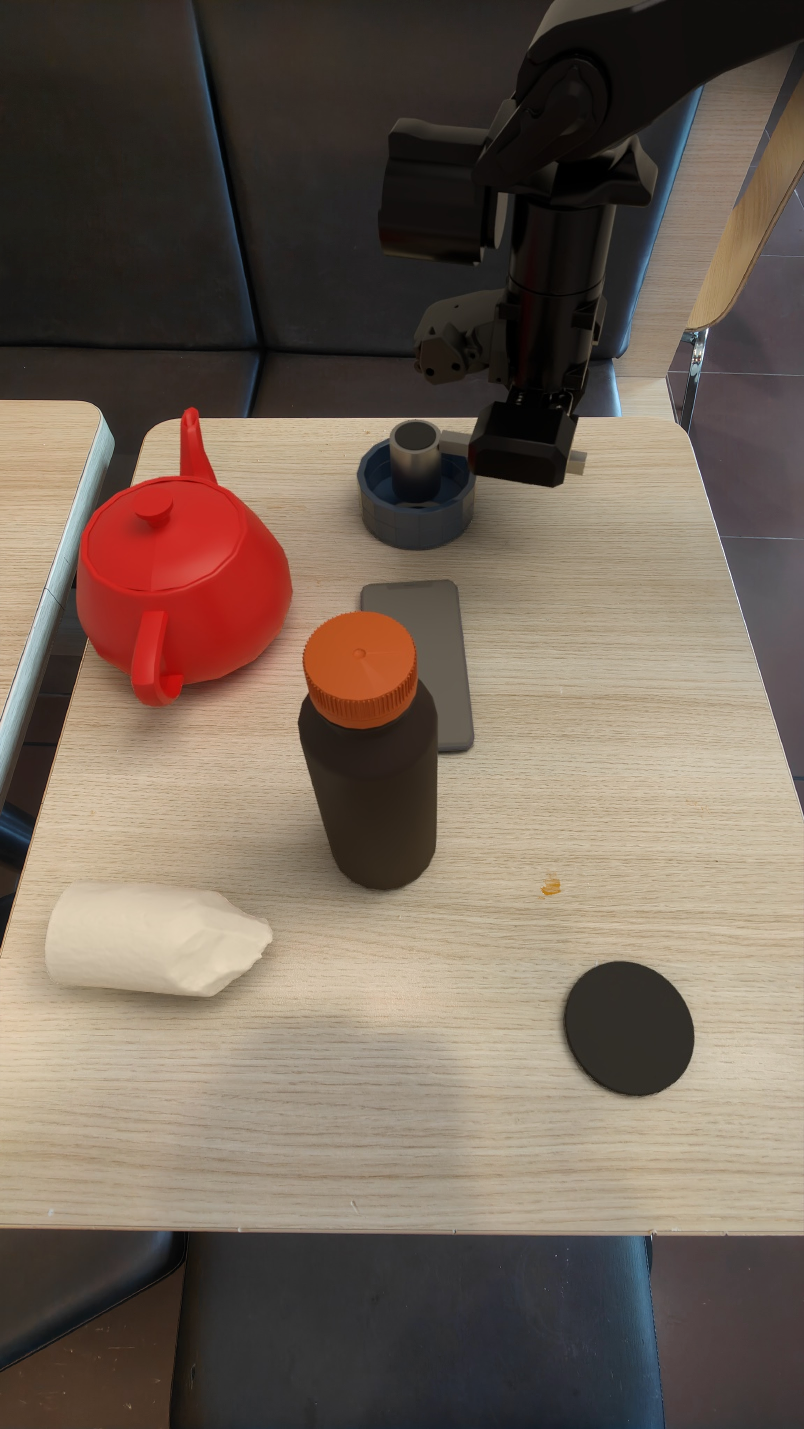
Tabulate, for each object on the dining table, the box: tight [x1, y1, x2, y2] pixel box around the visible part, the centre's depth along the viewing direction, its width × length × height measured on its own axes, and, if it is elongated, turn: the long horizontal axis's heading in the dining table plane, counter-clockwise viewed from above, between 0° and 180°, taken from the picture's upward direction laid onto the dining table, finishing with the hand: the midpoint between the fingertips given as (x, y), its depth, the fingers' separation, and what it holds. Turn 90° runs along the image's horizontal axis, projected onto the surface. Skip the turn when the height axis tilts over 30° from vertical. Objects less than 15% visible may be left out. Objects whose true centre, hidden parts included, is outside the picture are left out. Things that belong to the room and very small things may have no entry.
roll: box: [44, 878, 274, 998], centre depth 44 cm, size 6×12×6 cm, turn 85°
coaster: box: [563, 960, 695, 1097], centre depth 43 cm, size 7×7×1 cm
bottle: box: [297, 610, 439, 892], centre depth 42 cm, size 7×7×20 cm
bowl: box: [356, 437, 478, 551], centre depth 65 cm, size 10×10×4 cm
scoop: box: [388, 419, 588, 504], centre depth 61 cm, size 15×4×6 cm, turn 74°
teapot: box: [75, 406, 294, 708], centre depth 56 cm, size 25×16×12 cm, turn 0°
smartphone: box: [359, 578, 476, 753], centre depth 57 cm, size 8×1×15 cm
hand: (528, 476), depth 60 cm, fingers closed on scoop
